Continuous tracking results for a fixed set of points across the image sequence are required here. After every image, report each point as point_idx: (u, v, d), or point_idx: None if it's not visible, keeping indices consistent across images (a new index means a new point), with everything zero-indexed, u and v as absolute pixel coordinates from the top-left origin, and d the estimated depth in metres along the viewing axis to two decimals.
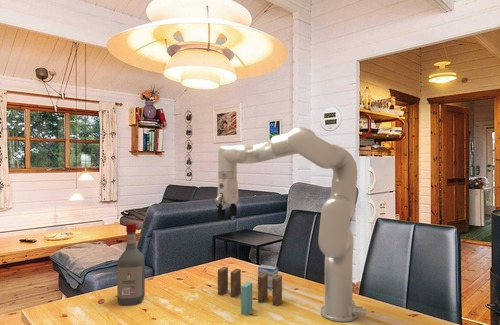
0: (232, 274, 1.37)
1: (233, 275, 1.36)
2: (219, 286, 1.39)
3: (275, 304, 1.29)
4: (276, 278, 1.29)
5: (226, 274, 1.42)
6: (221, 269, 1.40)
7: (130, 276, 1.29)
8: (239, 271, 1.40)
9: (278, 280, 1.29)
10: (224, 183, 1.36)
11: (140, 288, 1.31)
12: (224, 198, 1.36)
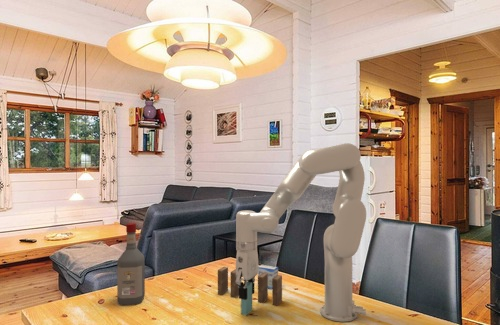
0: (232, 274, 1.37)
1: (233, 275, 1.36)
2: (219, 286, 1.39)
3: (275, 304, 1.29)
4: (276, 278, 1.29)
5: (226, 274, 1.42)
6: (221, 269, 1.40)
7: (130, 276, 1.29)
8: None
9: (278, 280, 1.29)
10: (243, 256, 1.18)
11: (140, 288, 1.31)
12: None
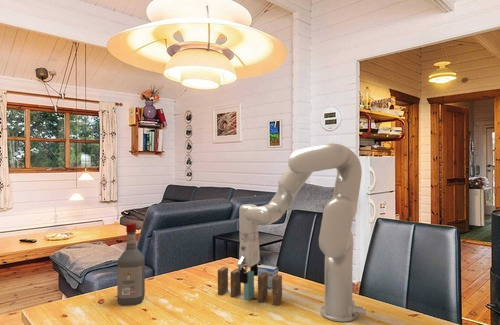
0: (232, 274, 1.37)
1: (233, 275, 1.36)
2: (219, 286, 1.39)
3: (275, 304, 1.29)
4: (276, 278, 1.29)
5: (226, 274, 1.42)
6: (221, 269, 1.40)
7: (130, 276, 1.29)
8: None
9: (278, 280, 1.29)
10: (246, 245, 1.31)
11: (140, 288, 1.31)
12: (246, 261, 1.31)
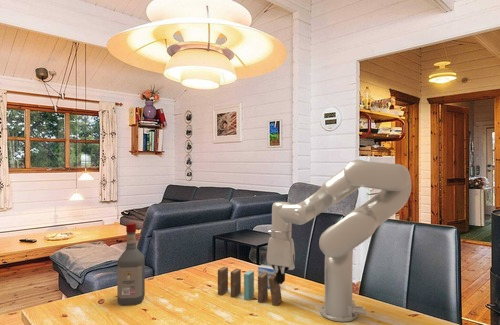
0: (232, 274, 1.37)
1: (233, 275, 1.36)
2: (219, 286, 1.39)
3: (275, 303, 1.29)
4: (272, 277, 1.30)
5: (226, 274, 1.42)
6: (221, 269, 1.40)
7: (130, 276, 1.29)
8: (239, 271, 1.40)
9: (274, 278, 1.30)
10: None
11: (140, 288, 1.31)
12: None
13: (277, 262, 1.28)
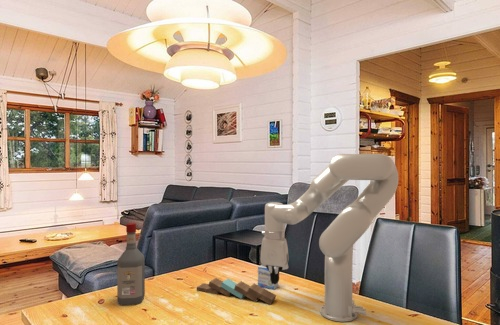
0: (210, 284, 1.41)
1: (211, 284, 1.41)
2: (210, 292, 1.41)
3: (270, 301, 1.30)
4: None
5: (206, 285, 1.46)
6: None
7: (130, 276, 1.29)
8: (215, 279, 1.44)
9: (251, 287, 1.34)
10: None
11: (140, 288, 1.31)
12: None
13: (271, 262, 1.29)
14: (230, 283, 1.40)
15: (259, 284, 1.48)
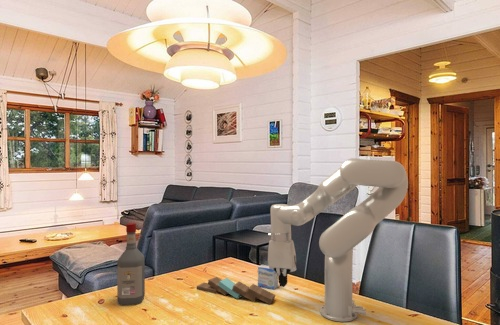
0: (209, 283, 1.43)
1: (210, 282, 1.43)
2: (209, 291, 1.42)
3: (269, 300, 1.30)
4: None
5: (206, 284, 1.47)
6: None
7: (130, 276, 1.29)
8: (215, 277, 1.46)
9: (250, 287, 1.34)
10: None
11: (140, 288, 1.31)
12: None
13: (278, 264, 1.28)
14: (228, 282, 1.40)
15: (259, 284, 1.48)
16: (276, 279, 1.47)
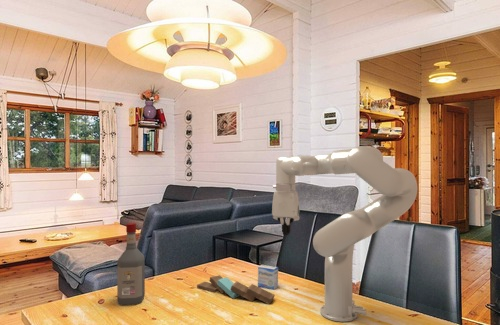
0: (210, 280, 1.46)
1: (211, 279, 1.46)
2: (208, 290, 1.43)
3: (269, 300, 1.30)
4: None
5: (207, 283, 1.49)
6: None
7: (130, 276, 1.29)
8: (218, 276, 1.49)
9: (249, 287, 1.34)
10: None
11: (140, 288, 1.31)
12: None
13: (282, 214, 1.33)
14: (226, 282, 1.41)
15: (259, 284, 1.48)
16: (276, 279, 1.47)
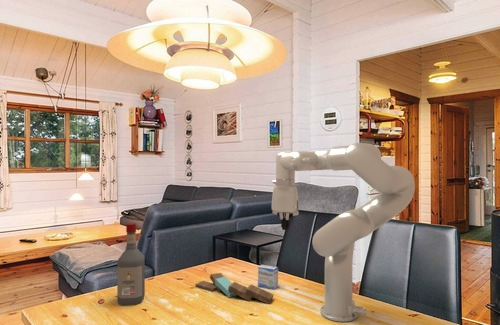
0: (211, 277, 1.49)
1: (211, 276, 1.49)
2: (206, 289, 1.44)
3: (268, 300, 1.30)
4: None
5: (205, 282, 1.50)
6: None
7: (130, 276, 1.29)
8: (219, 273, 1.51)
9: (248, 288, 1.34)
10: None
11: (140, 288, 1.31)
12: None
13: (282, 208, 1.34)
14: (224, 281, 1.42)
15: (259, 284, 1.48)
16: (276, 279, 1.47)
